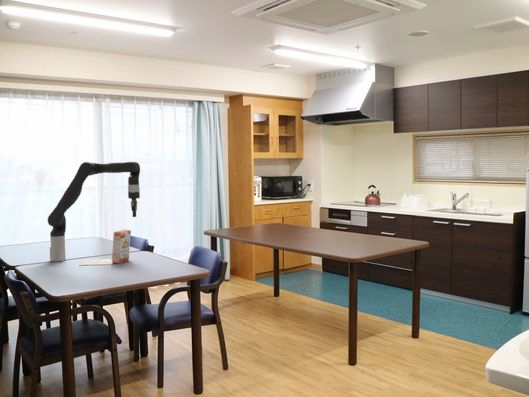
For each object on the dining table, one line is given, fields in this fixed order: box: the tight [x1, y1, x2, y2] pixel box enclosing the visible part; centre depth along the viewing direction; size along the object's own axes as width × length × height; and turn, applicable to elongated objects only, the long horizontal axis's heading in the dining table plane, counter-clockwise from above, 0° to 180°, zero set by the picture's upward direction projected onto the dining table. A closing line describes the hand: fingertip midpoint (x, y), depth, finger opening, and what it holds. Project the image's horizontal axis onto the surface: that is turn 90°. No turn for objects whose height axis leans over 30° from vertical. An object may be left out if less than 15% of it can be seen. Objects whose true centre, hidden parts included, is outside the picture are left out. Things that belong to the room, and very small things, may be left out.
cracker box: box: [111, 229, 132, 264], centre depth 333 cm, size 14×6×21 cm, turn 168°
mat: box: [78, 258, 114, 267], centre depth 332 cm, size 21×18×1 cm
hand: (134, 216), depth 333 cm, fingers closed
